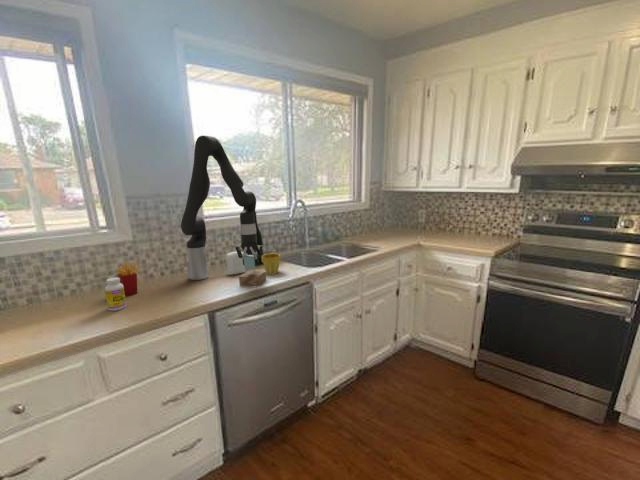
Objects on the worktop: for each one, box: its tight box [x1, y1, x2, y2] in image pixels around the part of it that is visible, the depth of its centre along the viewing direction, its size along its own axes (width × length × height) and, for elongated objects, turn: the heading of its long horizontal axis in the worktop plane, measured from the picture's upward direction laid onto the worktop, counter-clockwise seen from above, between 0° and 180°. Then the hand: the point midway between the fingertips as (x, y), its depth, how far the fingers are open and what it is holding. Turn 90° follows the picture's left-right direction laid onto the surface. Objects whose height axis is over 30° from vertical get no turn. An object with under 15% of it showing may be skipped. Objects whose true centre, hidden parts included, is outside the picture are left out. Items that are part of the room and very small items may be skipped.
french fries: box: [116, 262, 141, 297], centre depth 153 cm, size 9×8×15 cm
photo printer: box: [225, 250, 246, 276], centre depth 180 cm, size 10×4×12 cm, turn 123°
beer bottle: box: [247, 211, 265, 265], centre depth 199 cm, size 10×10×33 cm
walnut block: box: [238, 270, 267, 288], centre depth 163 cm, size 10×10×5 cm
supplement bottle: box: [104, 276, 127, 312], centre depth 135 cm, size 7×7×13 cm
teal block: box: [244, 255, 258, 270], centre depth 161 cm, size 5×5×6 cm
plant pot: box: [261, 253, 281, 275], centre depth 180 cm, size 10×10×10 cm
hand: (251, 265), depth 162 cm, fingers closed on teal block, 5 cm apart
